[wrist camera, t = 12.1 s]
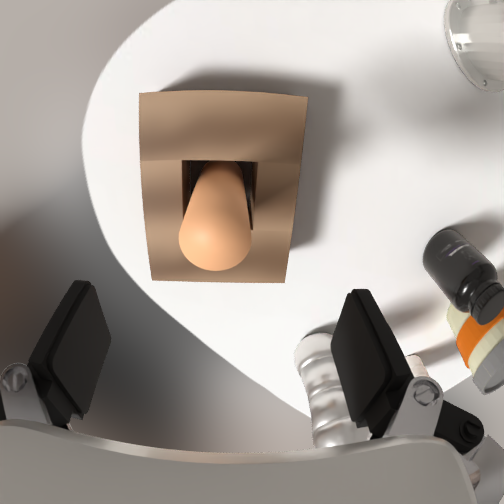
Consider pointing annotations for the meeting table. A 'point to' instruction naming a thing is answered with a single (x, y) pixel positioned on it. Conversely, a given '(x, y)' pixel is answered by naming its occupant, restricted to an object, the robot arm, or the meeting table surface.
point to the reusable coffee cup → (480, 348)
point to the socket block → (228, 149)
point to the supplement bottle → (464, 276)
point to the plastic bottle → (325, 394)
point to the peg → (217, 218)
